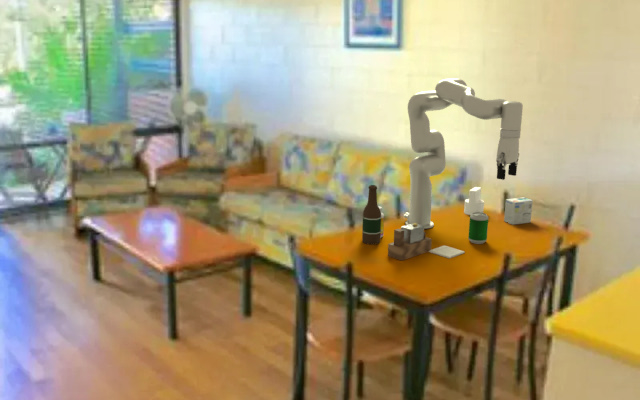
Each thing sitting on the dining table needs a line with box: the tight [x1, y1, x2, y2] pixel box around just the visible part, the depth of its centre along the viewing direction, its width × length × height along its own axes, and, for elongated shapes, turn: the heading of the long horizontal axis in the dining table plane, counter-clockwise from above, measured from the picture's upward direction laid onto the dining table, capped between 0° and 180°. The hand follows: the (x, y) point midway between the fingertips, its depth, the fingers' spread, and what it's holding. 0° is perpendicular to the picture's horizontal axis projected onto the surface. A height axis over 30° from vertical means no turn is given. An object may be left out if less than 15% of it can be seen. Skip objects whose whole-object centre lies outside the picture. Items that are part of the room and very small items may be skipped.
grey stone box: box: [400, 223, 425, 244], centre depth 265 cm, size 8×5×7 cm, turn 133°
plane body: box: [387, 228, 433, 261], centre depth 265 cm, size 18×7×11 cm, turn 133°
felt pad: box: [428, 245, 466, 259], centre depth 268 cm, size 10×10×1 cm
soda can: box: [468, 212, 489, 245], centre depth 280 cm, size 8×8×12 cm
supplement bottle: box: [378, 205, 385, 239], centre depth 286 cm, size 7×7×13 cm
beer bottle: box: [361, 184, 382, 245], centre depth 277 cm, size 8×8×24 cm
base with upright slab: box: [463, 186, 485, 216], centre depth 323 cm, size 9×9×12 cm
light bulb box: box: [503, 196, 533, 225], centre depth 309 cm, size 11×7×11 cm, turn 114°
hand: (506, 177), depth 263 cm, fingers open, 9 cm apart
